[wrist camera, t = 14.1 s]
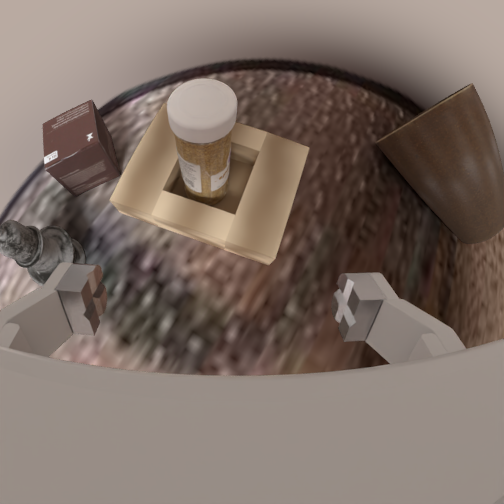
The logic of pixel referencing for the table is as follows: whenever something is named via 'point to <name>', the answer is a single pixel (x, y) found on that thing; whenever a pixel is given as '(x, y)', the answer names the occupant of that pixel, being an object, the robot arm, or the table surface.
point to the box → (79, 149)
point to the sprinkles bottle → (203, 136)
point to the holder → (235, 201)
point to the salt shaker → (39, 248)
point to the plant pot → (453, 164)
